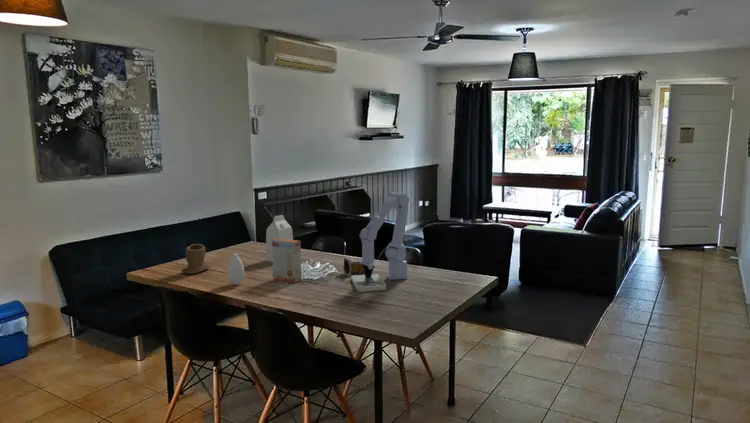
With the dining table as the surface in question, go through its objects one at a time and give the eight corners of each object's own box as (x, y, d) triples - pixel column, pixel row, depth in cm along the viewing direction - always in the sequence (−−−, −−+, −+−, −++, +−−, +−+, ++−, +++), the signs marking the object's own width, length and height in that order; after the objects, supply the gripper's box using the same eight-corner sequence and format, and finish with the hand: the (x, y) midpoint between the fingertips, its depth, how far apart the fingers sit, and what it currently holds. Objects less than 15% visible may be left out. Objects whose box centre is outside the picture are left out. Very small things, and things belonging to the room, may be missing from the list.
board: (378, 277, 278) (378, 274, 278) (382, 284, 268) (382, 280, 267) (351, 279, 276) (351, 275, 275) (354, 285, 265) (354, 281, 265)
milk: (280, 256, 323) (279, 213, 319) (294, 259, 316) (293, 215, 312) (265, 260, 313) (264, 216, 309) (279, 263, 307) (278, 218, 302)
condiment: (350, 276, 281) (369, 273, 288) (350, 260, 280) (370, 258, 286) (343, 273, 287) (362, 270, 293) (343, 257, 286) (362, 255, 292)
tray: (382, 284, 267) (382, 279, 267) (386, 290, 258) (386, 285, 257) (354, 285, 265) (354, 281, 264) (357, 291, 255) (357, 287, 255)
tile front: (374, 286, 263) (374, 282, 262) (375, 288, 259) (375, 284, 258) (366, 286, 262) (366, 282, 261) (367, 289, 258) (367, 285, 258)
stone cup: (194, 276, 281) (192, 248, 278) (178, 273, 287) (176, 246, 284) (216, 269, 294) (214, 243, 291) (200, 267, 300) (199, 240, 297)
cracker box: (302, 280, 274) (301, 240, 270) (294, 283, 269) (293, 242, 265) (280, 276, 281) (279, 237, 277) (272, 279, 275) (271, 239, 272)
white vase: (239, 281, 273) (237, 246, 270) (247, 284, 267) (246, 249, 264) (225, 284, 267) (223, 249, 264) (233, 287, 262) (231, 251, 259)
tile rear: (372, 280, 266) (372, 277, 266) (373, 285, 263) (374, 281, 262) (364, 281, 266) (364, 277, 265) (365, 285, 262) (365, 282, 261)
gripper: (357, 249, 270) (357, 275, 273) (362, 256, 256) (362, 284, 259) (371, 249, 272) (371, 275, 274) (377, 256, 258) (377, 283, 260)
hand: (368, 279), depth 266 cm, fingers closed
